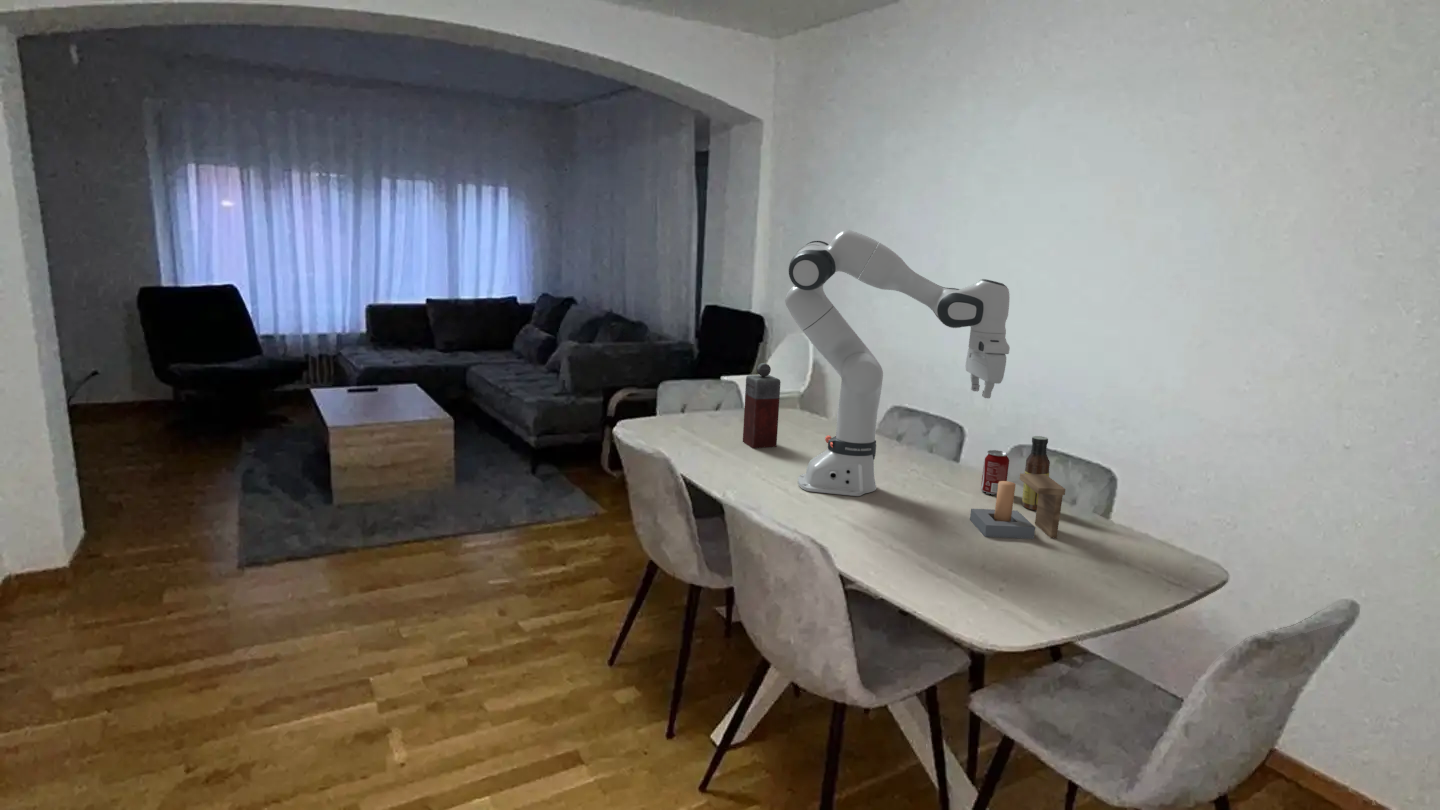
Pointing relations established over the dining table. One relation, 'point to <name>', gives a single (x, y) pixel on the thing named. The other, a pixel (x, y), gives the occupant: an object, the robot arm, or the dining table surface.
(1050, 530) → the wooden l-shaped bracket
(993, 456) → the soda can
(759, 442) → the red grey knobbed box
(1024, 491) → the sauce bottle
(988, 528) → the socket
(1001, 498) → the peg
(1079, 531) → the dining table surface
